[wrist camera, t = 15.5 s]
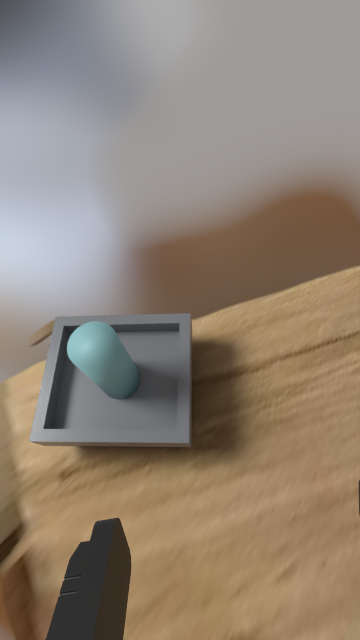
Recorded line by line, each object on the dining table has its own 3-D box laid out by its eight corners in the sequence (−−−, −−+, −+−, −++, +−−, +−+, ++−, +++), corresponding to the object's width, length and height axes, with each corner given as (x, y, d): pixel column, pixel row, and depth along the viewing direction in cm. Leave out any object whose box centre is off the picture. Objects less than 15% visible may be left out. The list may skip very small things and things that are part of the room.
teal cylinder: (141, 360, 38) (119, 320, 30) (138, 398, 36) (114, 367, 28) (103, 361, 39) (71, 322, 30) (99, 399, 37) (62, 369, 28)
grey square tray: (193, 336, 44) (190, 313, 38) (193, 450, 38) (189, 442, 32) (76, 339, 46) (55, 316, 40) (56, 448, 39) (29, 441, 33)
